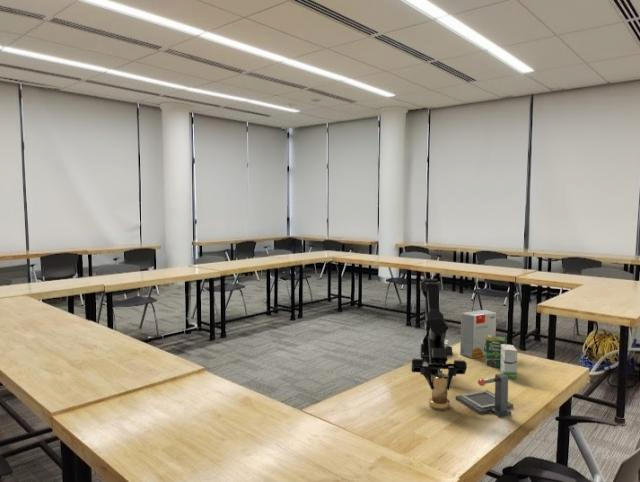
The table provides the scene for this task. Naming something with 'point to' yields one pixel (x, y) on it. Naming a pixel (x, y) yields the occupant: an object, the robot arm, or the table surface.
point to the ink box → (508, 361)
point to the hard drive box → (476, 332)
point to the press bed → (489, 398)
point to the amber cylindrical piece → (439, 393)
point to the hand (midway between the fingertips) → (440, 389)
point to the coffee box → (494, 350)
